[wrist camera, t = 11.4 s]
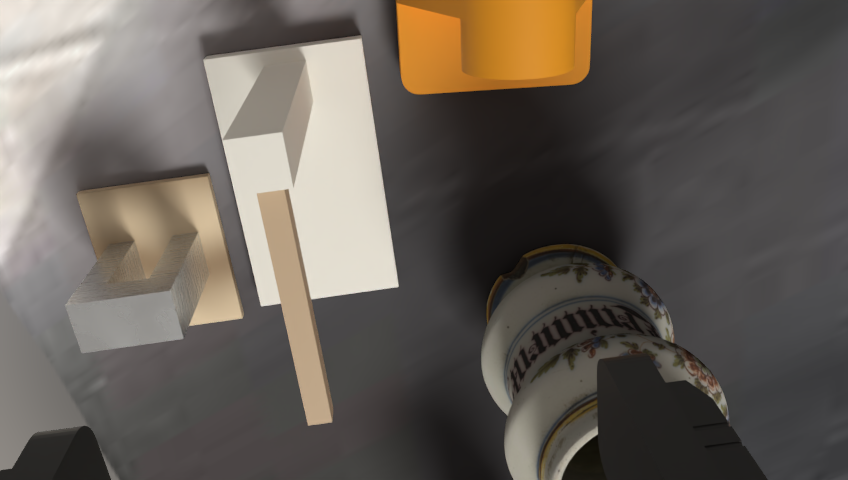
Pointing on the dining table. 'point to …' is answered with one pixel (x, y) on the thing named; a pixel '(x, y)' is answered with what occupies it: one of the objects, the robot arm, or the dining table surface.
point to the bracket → (492, 44)
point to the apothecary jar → (571, 355)
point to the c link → (138, 296)
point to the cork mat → (167, 232)
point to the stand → (305, 185)
